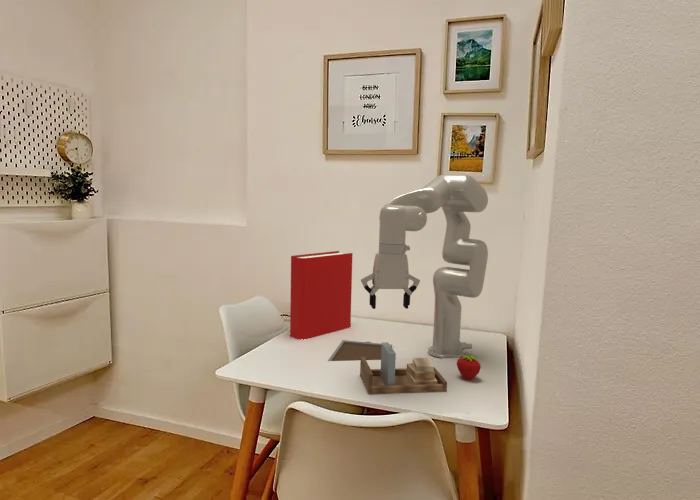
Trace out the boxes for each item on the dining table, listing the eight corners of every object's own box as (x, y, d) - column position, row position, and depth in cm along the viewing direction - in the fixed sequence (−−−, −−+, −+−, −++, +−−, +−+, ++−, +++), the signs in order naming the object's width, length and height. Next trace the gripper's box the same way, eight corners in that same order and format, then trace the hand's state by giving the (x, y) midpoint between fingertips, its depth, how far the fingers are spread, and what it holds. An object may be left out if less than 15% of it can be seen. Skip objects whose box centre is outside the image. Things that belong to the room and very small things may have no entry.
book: (337, 323, 211) (339, 250, 207) (350, 327, 205) (352, 252, 201) (288, 335, 191) (289, 256, 187) (301, 340, 186) (302, 258, 182)
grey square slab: (386, 376, 149) (388, 342, 147) (394, 390, 139) (395, 353, 137) (380, 377, 148) (381, 342, 147) (387, 390, 138) (388, 353, 137)
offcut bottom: (427, 376, 150) (428, 369, 150) (437, 388, 141) (437, 380, 141) (406, 376, 149) (406, 370, 149) (414, 388, 140) (414, 381, 140)
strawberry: (460, 376, 154) (462, 345, 153) (483, 382, 149) (485, 351, 148) (452, 381, 149) (453, 350, 148) (474, 388, 145) (476, 356, 143)
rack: (431, 376, 153) (432, 355, 152) (446, 395, 139) (447, 372, 138) (359, 378, 149) (360, 357, 149) (368, 398, 136) (368, 374, 135)
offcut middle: (424, 369, 150) (425, 362, 149) (434, 379, 142) (435, 372, 142) (406, 370, 148) (406, 363, 148) (415, 380, 141) (415, 373, 140)
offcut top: (428, 364, 148) (429, 358, 148) (433, 373, 141) (433, 366, 141) (412, 364, 148) (412, 358, 147) (416, 373, 141) (416, 366, 140)
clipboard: (324, 364, 158) (344, 337, 187) (324, 369, 158) (343, 341, 187) (382, 370, 154) (393, 342, 183) (382, 375, 154) (393, 346, 183)
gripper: (417, 248, 143) (414, 304, 146) (360, 247, 141) (358, 304, 143) (424, 251, 136) (421, 310, 138) (364, 251, 134) (362, 311, 136)
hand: (389, 307), depth 141 cm, fingers open, 9 cm apart
